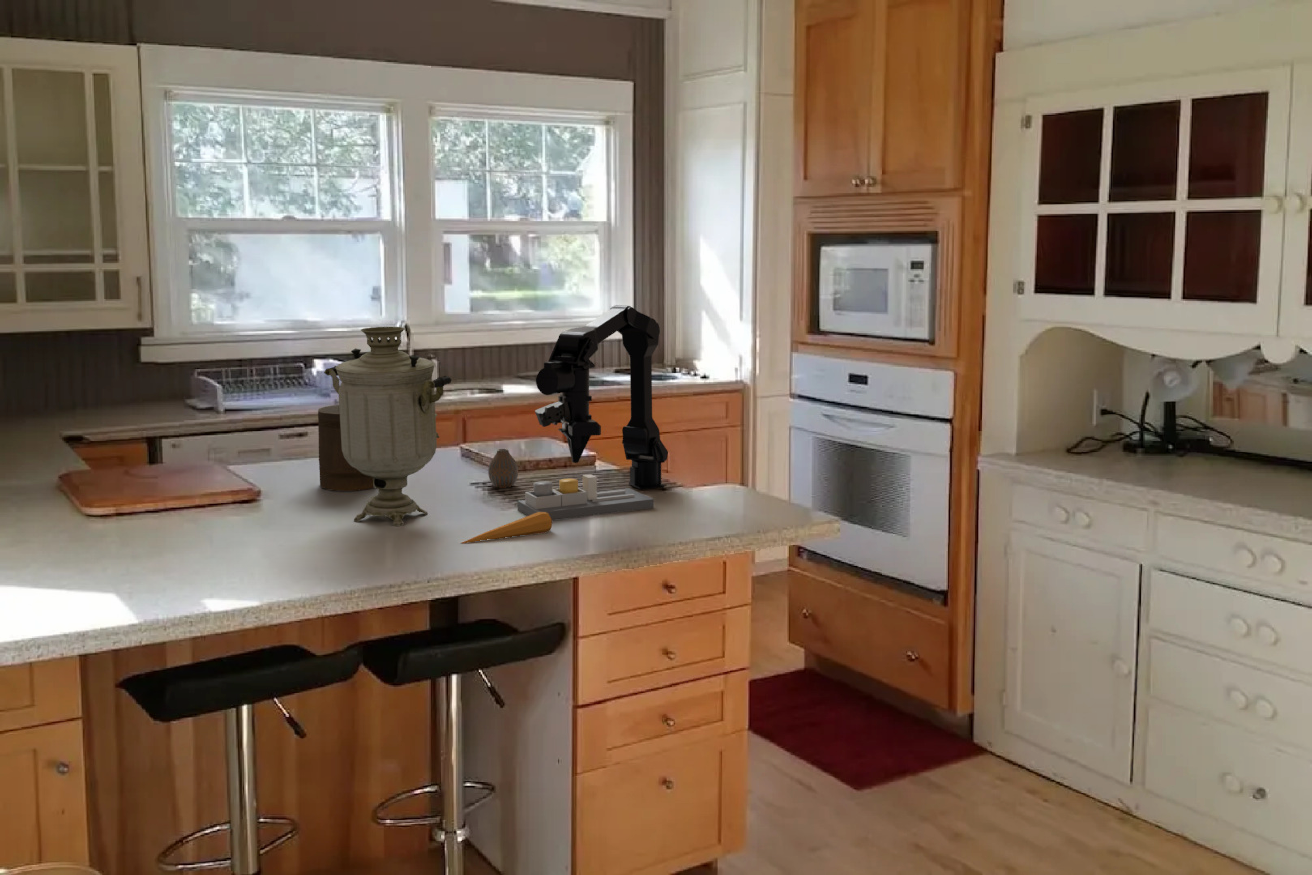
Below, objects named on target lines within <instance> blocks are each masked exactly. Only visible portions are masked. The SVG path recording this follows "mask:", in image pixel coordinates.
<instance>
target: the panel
mask: <svg viewBox="0 0 1312 875" xmlns="http://www.w3.org/2000/svg"><path fill="white" fill-rule="evenodd" d="M524 494H525V495H524V496H525V499H521V500H517V511H519V512H521V513H522V514H524V515H526V516H529V515H532V514H534V513H537V512H546V513H548V514H549V516H550V517H551V518H552V521H558V520H565V519H566V520H567V519H574V518H582V517H583V518H584V517H588V516H589V517H590V516H599V515H600V516H601V515H608V514H609V515H610V514H616V513H622V512H623V513H624V512H631V511H640V510H641V511H642V510H647V509H648V510H650V509H654V506H655V503H654V502H655V501H654V500H655V499H654V498H652V497H650V496H648V495H646V494H643V493H641V492H639V491H637V490H634V489H632V488H629V487H626V488H619V489H612V490H609V489H607V490H600V491H597V498H594V499H592V500H587V492H586V491H584V490H583V488H582V489H581V488H579V487H578V492H577V493H568V494H562V493H560V488H559V487H557V488H552V495H550V496H541V497H536V496H534V490H532V491H525V492H524Z"/></svg>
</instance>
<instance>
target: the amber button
mask: <svg viewBox="0 0 1312 875" xmlns="http://www.w3.org/2000/svg"><path fill="white" fill-rule="evenodd" d="M558 483H559V485H558V486H559V487H558V488H560V493H562V494H568V493H577V492H578V488H579V480H578V479H576V478H562V479H559V482H558Z"/></svg>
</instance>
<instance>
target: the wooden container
mask: <svg viewBox="0 0 1312 875" xmlns="http://www.w3.org/2000/svg"><path fill="white" fill-rule="evenodd" d="M317 422H318V425H317V426H318V427H317V428H318V466H319V467H318V468H319V487H321V488H322V489H324V490H328V491H338V492H355V491H356V492H357V491H366V490H367V491H368V490H372V489H376V488H375V487H373V478H372V477H371V476H367V475H364V474H362V473H361V472H360V471H359V470H357V469H356V468H354V467H352V466H351V465H350V464H349V463H348V462H347V460H346V459H345V458H344V455H343V452H342V445H341V428H340V410H339V404H334V405H327V406H323V407H319V408H318V410H317Z"/></svg>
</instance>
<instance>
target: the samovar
mask: <svg viewBox="0 0 1312 875" xmlns="http://www.w3.org/2000/svg"><path fill="white" fill-rule="evenodd" d="M405 330H406V328H405V327H404V326H373V327H372V326H371V327H364V328H361V329H360V331H361V332H362V333H363V334H365V337H366V344H367V345H368V347H369V348H370V351H367V352H365V353H364V354H362V355H360V353H361V352H362V349H360V348H354V349H352V350H351V351H350V352H351V354H352V355H353V357H354V359H350V360H347V361H344V362H343V361H342V362H341V363H339V364H337V365H334V366H333V367H329V368H328V367H327V368H326V369H325V370H324V371H323V373H324V374H325V375H326V376H330V377H331V378H332V387H333V389H334V390H335V392H336V393H337V394H338V405H339V410H340V428H341V445H342V452H343V455H344V458H345V459H346V460H347V462H348V463H349V464H350V465H351V466H352V467H354V468H356V469H357V470H359V471H360V472H361V473H362V474H364V475H367V476H371V477H372V478H373V487H375V488H374V489H378V494H376V495H374V496H372V497H371V499H370V500H368V501H367V502H365V507H363V510H362V512H361V513H359V514H356V516H355V517H354V518H353V521H354V522H361V521H362V520H364V519H365V517H366V516H373V517H376V516H377V517H380V518H381V517H387V518H388V519H390V520H392V521H393V523H392V526H396V527H400V526H404V525H405V523H404V521H402V520H403V518H404V516H405V515H409V514H412V513H415V512H419V513H422V514H424V515H425V516H426V515H428V511H426V510H424V509H423V508H421V507H420V506H419V505H418V504H417V502H416V501H415V500H414V499H412V498H411V497H410V496H409V495H408V494H404V493H403V489H404V488H406V487H407V486H408V476H410V475H411V476H412V475H413V474H415V473H417V472H419V471H421V469H423V468H425V466H426V465H427V464H428V463H430V462H431V461H432V459H433V458H434V456H435V454H436V452H437V444H438V443H437V441H438V440H437V439H439V438H440V435H439V433H438V432H437V423H436V422H437V421H436V418H437V417H438V413H436V402H438V401H439V400H440V399H441V398H442V396H443V395H444V387H445V386H446V385H449V384H451V383H452V379H453V378H451V377H450V376H448V375H444V376H439V377H437V378H436V379H432V380H431V378H432V376H433V372H434V369H435V362H434V361H432V360H430V359H428V358H424V357H420V356H419V355H416V354H411V355H410V354H408V353H407V352H404V351H402V350H399V347H400V346H401V345H402V335H401V334H402V333H403V331H405ZM340 382H341V383H340ZM435 389H436V390H435Z"/></svg>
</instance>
